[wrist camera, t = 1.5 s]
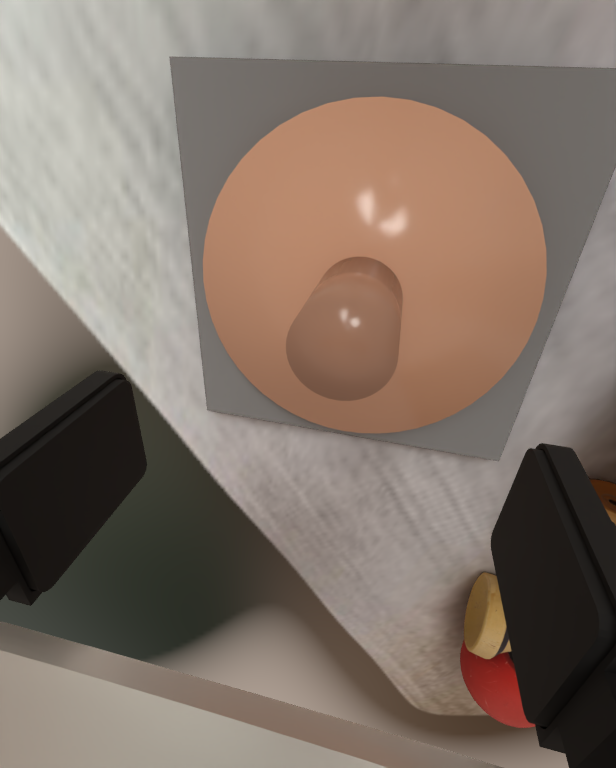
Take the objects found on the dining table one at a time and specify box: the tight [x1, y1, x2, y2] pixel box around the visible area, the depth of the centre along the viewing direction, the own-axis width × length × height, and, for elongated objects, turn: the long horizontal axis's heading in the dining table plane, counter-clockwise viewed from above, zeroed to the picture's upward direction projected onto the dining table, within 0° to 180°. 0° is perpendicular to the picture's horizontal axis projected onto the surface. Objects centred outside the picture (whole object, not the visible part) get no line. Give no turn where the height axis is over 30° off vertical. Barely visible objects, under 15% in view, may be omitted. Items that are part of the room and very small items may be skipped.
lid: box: [203, 97, 547, 433], centre depth 15 cm, size 14×14×6 cm
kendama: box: [460, 479, 616, 728], centre depth 24 cm, size 8×6×18 cm
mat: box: [170, 57, 616, 461], centre depth 18 cm, size 16×16×1 cm
